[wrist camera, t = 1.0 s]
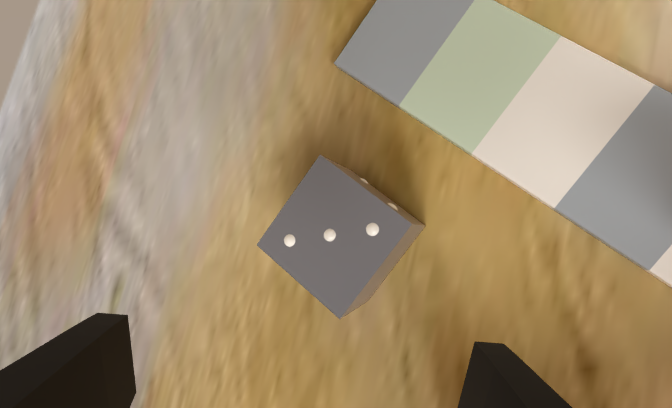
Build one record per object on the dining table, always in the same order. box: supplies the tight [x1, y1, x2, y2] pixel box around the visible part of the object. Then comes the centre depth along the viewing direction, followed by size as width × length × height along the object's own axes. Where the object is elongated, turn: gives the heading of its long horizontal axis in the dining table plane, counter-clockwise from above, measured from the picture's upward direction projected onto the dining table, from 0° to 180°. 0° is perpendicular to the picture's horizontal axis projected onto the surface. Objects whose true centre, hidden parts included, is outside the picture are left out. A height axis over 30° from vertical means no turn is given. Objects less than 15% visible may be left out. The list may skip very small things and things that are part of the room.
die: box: [257, 155, 425, 319], centre depth 18 cm, size 5×5×5 cm
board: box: [334, 0, 672, 288], centre depth 17 cm, size 20×6×1 cm, turn 52°
